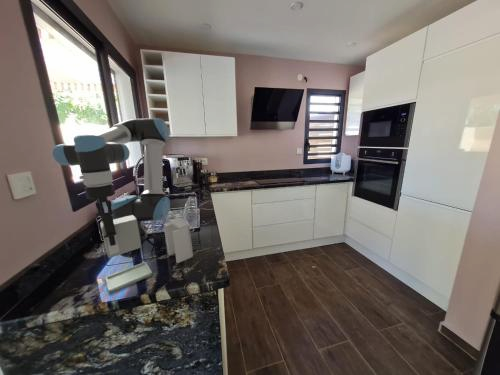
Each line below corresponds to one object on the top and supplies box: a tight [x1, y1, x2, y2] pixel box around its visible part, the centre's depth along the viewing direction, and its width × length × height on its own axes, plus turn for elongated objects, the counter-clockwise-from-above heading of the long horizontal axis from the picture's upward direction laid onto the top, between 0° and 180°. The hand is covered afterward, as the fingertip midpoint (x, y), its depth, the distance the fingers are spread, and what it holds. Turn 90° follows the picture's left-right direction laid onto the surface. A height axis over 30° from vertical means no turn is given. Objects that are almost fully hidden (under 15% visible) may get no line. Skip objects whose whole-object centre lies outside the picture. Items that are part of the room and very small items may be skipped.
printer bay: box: [163, 217, 194, 264], centre depth 85 cm, size 11×7×15 cm, turn 41°
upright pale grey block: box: [99, 215, 142, 259], centre depth 69 cm, size 6×10×11 cm, turn 131°
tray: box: [104, 261, 153, 294], centre depth 73 cm, size 10×14×1 cm
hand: (113, 249), depth 68 cm, fingers closed on upright pale grey block, 6 cm apart
